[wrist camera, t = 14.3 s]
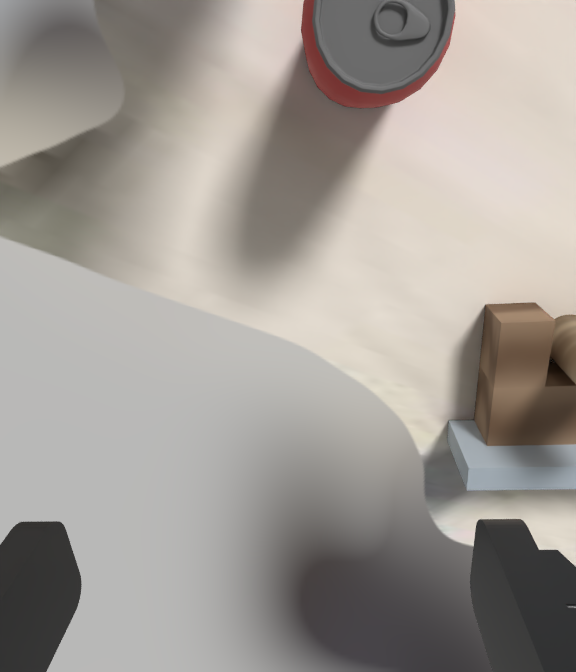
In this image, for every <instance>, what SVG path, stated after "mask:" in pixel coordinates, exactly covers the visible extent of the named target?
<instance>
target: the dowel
mask: <svg viewBox="0 0 576 672" xmlns="http://www.w3.org/2000/svg"><path fill="white" fill-rule="evenodd" d="M554 320H555V321H556V323H555V329H554V335H553V341H552V347H551V353H550V357H551V358H552V359H553V360H554V361H555V362H556V363H557V365H558V366H559V367H560V368H561V369H562V370H563V371H564V372H565V373H566V374H567V375H568V376H569V377H570V378H571V380H572V381H573V382H574V383H575V384H576V315H564V316H560V317H558V318H556V319H554Z"/></svg>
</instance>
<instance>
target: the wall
mask: <svg viewBox="0 0 576 672" xmlns="http://www.w3.org/2000/svg"><path fill="white" fill-rule="evenodd" d="M447 441H448V444H449V447H450V449H451V452H452V454H453V457H454V459H455V462H456V465H457V467H458V470H459V472H460V475H461V477H462V480H463V483H464V485H465V488H466V490H548V489H576V444H574V445H521V446H487V445H486V443H485V441H484V439H483V437H482V435H481V433H480V431H479V429H478V427H477V425H476V423H475V421H474V420H449V425H448V438H447Z"/></svg>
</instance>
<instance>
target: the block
mask: <svg viewBox="0 0 576 672" xmlns="http://www.w3.org/2000/svg"><path fill="white" fill-rule="evenodd" d="M555 323H556V321H555V320H554V319H553V318H552V317H551V316H550V315H548V314H547V313H546V312H545V311H544V310H543V309H542V308H541V307H539V306H538V305H537V304H536V303H512V304H487V305H486V306H485V316H484V326H483V336H482V345H481V355H480V365H479V375H478V385H477V395H476V405H475V415H474V421H475V423H476V425H477V427H478V429H479V431H480V433H481V435H482V437H483V439H484V441H485V443H486V445H487V446H521V445H574V444H576V384H575V383H574V382H573V381H572V380H571V378H570V377H569V376H568V375H567V374H566V373H565V372H564V371H563V370H562V369H561V368H560V367H559V366H558V365H557V363H549V359H550V353H551V347H552V341H553V335H554V329H555Z"/></svg>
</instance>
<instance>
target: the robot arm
mask: <svg viewBox="0 0 576 672" xmlns="http://www.w3.org/2000/svg"><path fill="white" fill-rule="evenodd" d="M470 588H471V597H472V604H473V608H474V613H475V616H476V619H477V623H478V626H479V629H480V632H481V635H482V639H483V642H484V645H485V649H486V652H487V655H488V658H489V661H490V664H491V668H492V671H493V672H576V567H575V566H574V565H573V564H572V563H571V562H570V561H569V560H568V559H567V558H566V557H564V556H563V555H562V554H561V553H560V552H559V551H558V550H539V549H538V547H537V545H536V543H535V541H534V539H533V537H532V535H531V533H530V531H529V529H528V527H527V525H526V524H525V522H524V521H523V520H521V519H481V520H478V522H477V525H476V532H475V540H474V549H473V558H472V567H471V575H470ZM80 594H81V576H80V572H79V569H78V566H77V563H76V560H75V557H74V554H73V551H72V548H71V545H70V541H69V538H68V535H67V532H66V529H65V527H64V525H63V524H62V523H61V522H20V523H18V524H17V525H15V526H14V527H13V529H12V530H11V531H10V532H9V534H8V535H7V537H6V538H5V539H4V541H3V542H2V543H1V545H0V672H46V671H47V669H48V667H49V665H50V663H51V661H52V659H53V657H54V654H55V652H56V650H57V648H58V646H59V644H60V642H61V640H62V638H63V636H64V634H65V632H66V630H67V628H68V626H69V624H70V622H71V619H72V617H73V615H74V613H75V611H76V609H77V606H78V603H79V599H80Z"/></svg>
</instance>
